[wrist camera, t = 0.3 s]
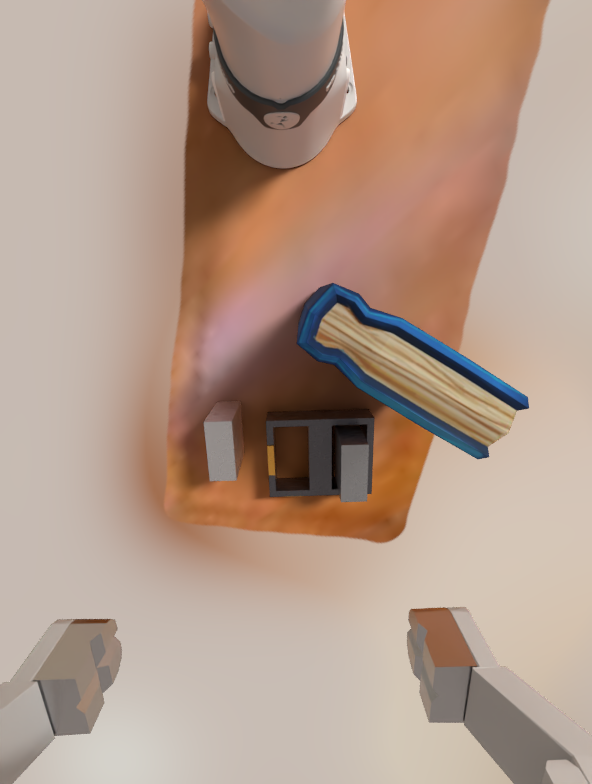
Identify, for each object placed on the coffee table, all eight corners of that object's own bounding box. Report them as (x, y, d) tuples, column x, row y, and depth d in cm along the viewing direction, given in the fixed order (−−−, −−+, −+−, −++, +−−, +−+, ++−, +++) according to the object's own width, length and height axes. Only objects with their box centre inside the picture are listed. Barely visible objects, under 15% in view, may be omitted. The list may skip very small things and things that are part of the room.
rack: (267, 412, 57) (263, 434, 48) (368, 409, 57) (382, 430, 49) (271, 485, 61) (268, 517, 52) (366, 482, 61) (378, 514, 52)
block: (216, 401, 57) (203, 422, 48) (240, 400, 57) (231, 421, 48) (221, 452, 59) (209, 481, 51) (244, 452, 59) (236, 480, 51)
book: (288, 321, 53) (286, 349, 29) (313, 279, 51) (332, 271, 28) (406, 391, 56) (490, 468, 32) (432, 353, 55) (542, 405, 31)
